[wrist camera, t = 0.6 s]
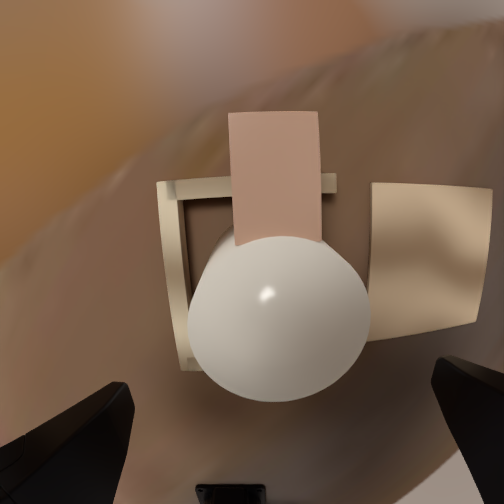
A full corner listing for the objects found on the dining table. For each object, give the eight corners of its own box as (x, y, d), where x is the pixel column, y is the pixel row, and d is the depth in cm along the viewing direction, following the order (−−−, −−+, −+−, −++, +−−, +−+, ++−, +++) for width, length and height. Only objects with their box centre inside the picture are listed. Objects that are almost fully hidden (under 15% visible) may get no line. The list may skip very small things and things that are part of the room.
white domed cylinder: (324, 322, 19) (359, 392, 12) (214, 328, 19) (199, 404, 12) (324, 134, 16) (374, 112, 9) (199, 139, 16) (168, 115, 9)
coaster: (473, 319, 19) (475, 321, 19) (361, 340, 19) (363, 342, 19) (489, 188, 17) (492, 189, 16) (370, 182, 17) (372, 182, 16)
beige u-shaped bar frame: (324, 350, 19) (330, 363, 18) (185, 357, 19) (181, 370, 18) (328, 173, 16) (336, 173, 15) (163, 181, 16) (156, 182, 15)
